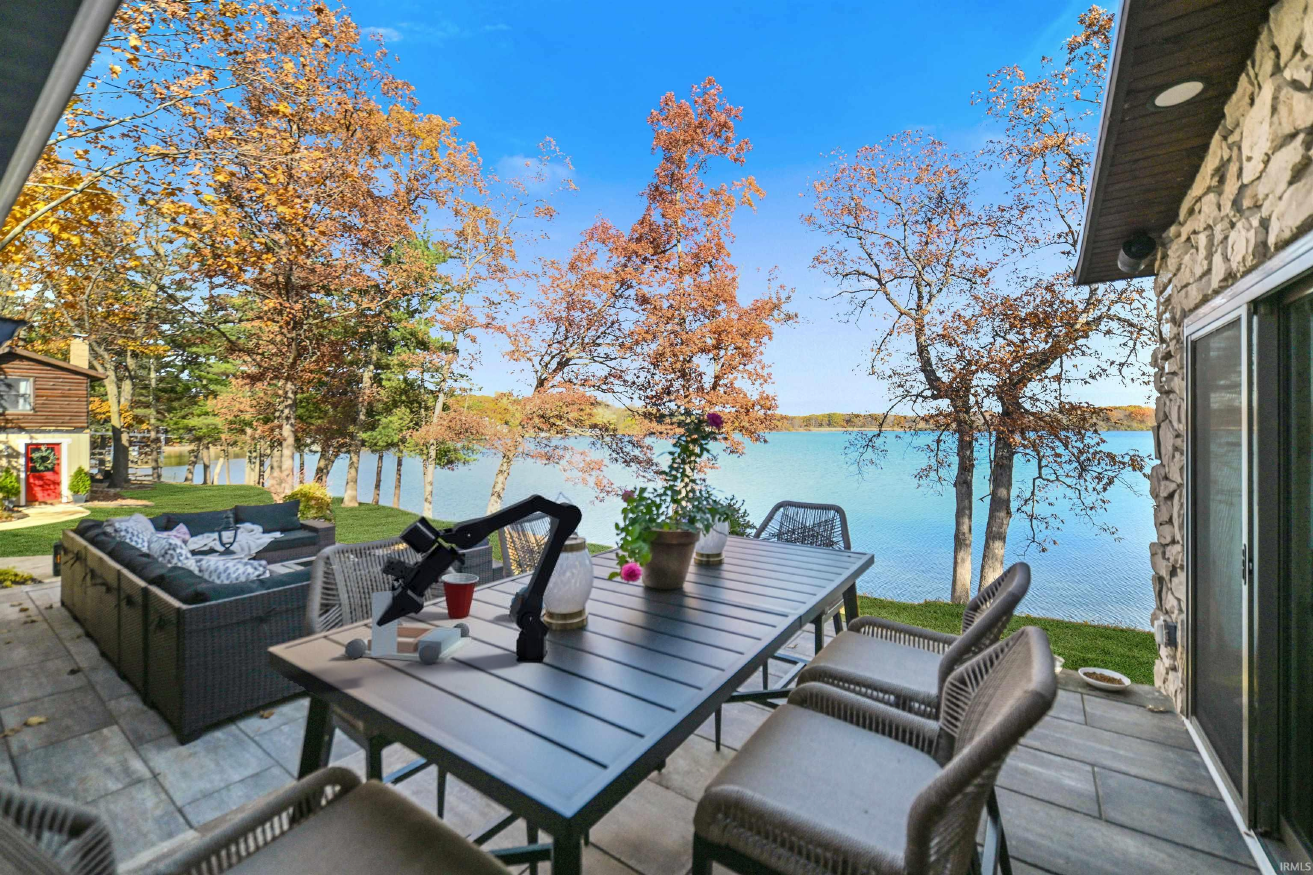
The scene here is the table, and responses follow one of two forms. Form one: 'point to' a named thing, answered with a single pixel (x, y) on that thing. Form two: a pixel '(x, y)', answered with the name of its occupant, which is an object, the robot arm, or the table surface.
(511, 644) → the table surface
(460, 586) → the plastic cup
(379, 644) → the blue-grey rectangular box
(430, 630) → the chassis
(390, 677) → the table surface
